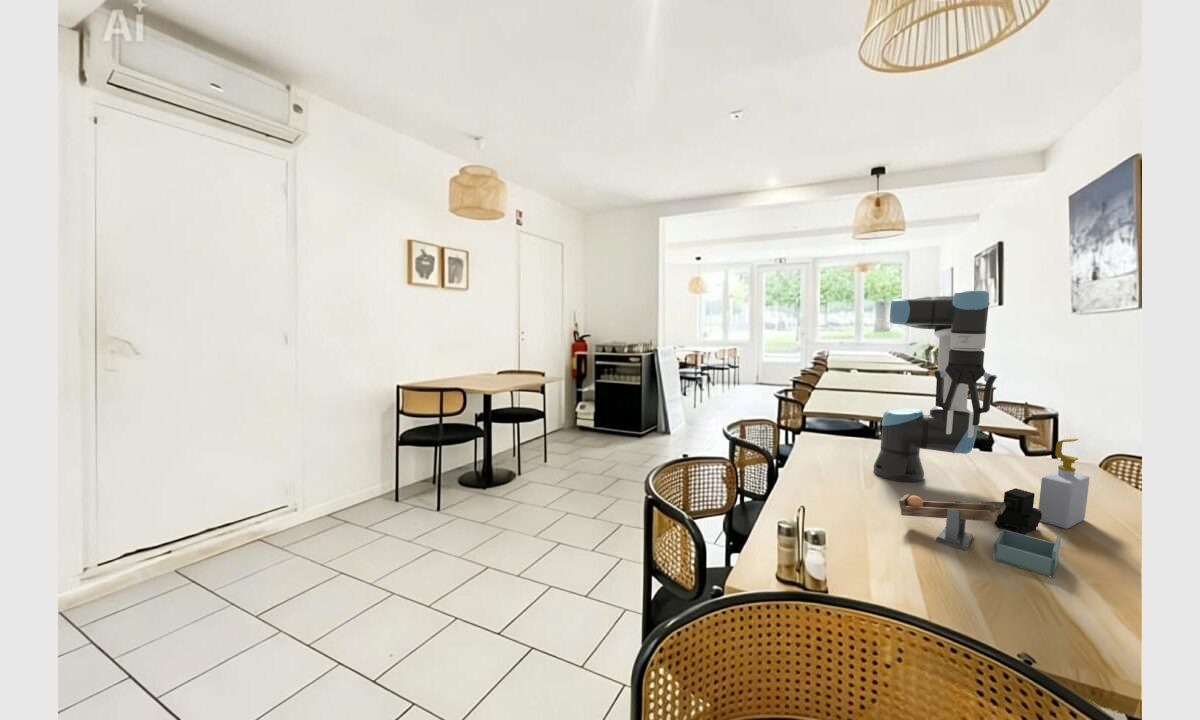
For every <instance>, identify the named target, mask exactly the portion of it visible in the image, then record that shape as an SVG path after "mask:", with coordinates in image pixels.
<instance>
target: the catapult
mask: <svg viewBox="0 0 1200 720" xmlns="http://www.w3.org/2000/svg"><path fill="white" fill-rule="evenodd" d="M910 496H911V495H910V494H907V493H906V494H905V495H903V496H902V497H901V498H900V499H899V500H898V502H899V508H900V510H901V511H900V515H901V516H906V517H920V518H922V517H923V518H933V519H934V518H935V519H947V510H948V508H950V509H954V510H958V511H960V519H962V520H966V521H980V522H993V523H995V521H996V520H997V517H998V515H999V514H1002V513H1003V511H1004V510H1005V508H1006V506H1005V503H1003V502H1004V501H987V500H986V501H983V500H982V501H980V503H977V502H975V503H973V502H967V503H955V501H953V502H952V501H951V502H949V501H929V500H928V501H927V500H922V501H923V506H922V507H916V506H909V505H908V503H907V500H908V498H909V497H910Z"/></svg>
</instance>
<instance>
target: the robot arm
mask: <svg viewBox="0 0 1200 720" xmlns="http://www.w3.org/2000/svg"><path fill="white" fill-rule="evenodd" d="M989 306H990V294H989V292H988V291H987V290H959V291H956V292H954V294H953V296H952V295H950V296H949V295H948V296H947V295H946V296H945V295H944V296H937V295H936V296H920V297H913V298H895V299H892V300H891V301H890V309H889V322H890V323H891V324H893V325H902V326H906V327H911V328H915V329H921V330H934V336H935V337H937V338H938V339H939V342H938V359H937V360H938V362H937V370H936V371H934V377H935V379H936V386H935V389H936V390H935V405H934V406H933V407H932V408H930V410H929V414H924V412H923V410H922V409H918V408H909V407H908V408H907V407H906V408H905V407H904V408H902V407H901V408H892V409H889V410H886V411H885V412H884V413H883V416H882V422H881V426H882V427H881V439H880V450H879V453H878V454H877V455H878V456H877V458H876V460H875V462H874V464H873V473H874V474H876V475H878V476H879V477H881V478H885V479H887V480H888V479H889V480H890V481H891V480H893V481H896V482H904V483H915V482H917V483H919V482H922V481H924V477H925V470H924V467H923V464H922V461H921V457H920V452H921V451H920V449H921V450H930V451H938V452H944V453H945V452H947V453H952V454H962V455H963V454H965V455H966V454H969V453H970V452H972V450H973V448H974V446H975V441H976V438H977V433H978V428H979V425H980V419H981V414H984V413H988V412H990V410H991V401H992V395H993V394H992V393H993V388H994V387H993V385H994V383H995V381H996V380H997V378H998V377H997V375H996V374H990V373H989V372H986V370H985V368H984V361H985V351H984V349H985V348H986V340H987V339H986V338H987V326H988V325H987V322H988V313H989ZM981 378H984V379H983V380H984V382H985V385H984V393H983V398H982V399H983V400H982V407H981V403H980V398H979V393H978V392H979V391H978V384H977V383H978V381H979V380H980V379H981ZM968 393H969V394H968ZM968 395H970V400H971V406H972V412H971V410H970V409H969V408H968Z"/></svg>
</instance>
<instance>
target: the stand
mask: <svg viewBox="0 0 1200 720" xmlns="http://www.w3.org/2000/svg"><path fill="white" fill-rule="evenodd" d="M954 502H955V503H968V502H967V501H964V500H959V499H955V500H954ZM966 522H967V520H962V519H960V511H958V510H954V509H950V508H948V510H947V518H946V524H945V527H944V528H943V530H942V531H941V532H940V534H939V535H938V536H937V537H935V542H936V543H938V544H942V545H946V546H948V547H952V548H956V549H958V550H962V551H963V552H964V551H966V549H967V547H968V546H969V544H970V543H971V541H972V540H973V539H974V537H975V536H974V533H970V532H968V531H966Z"/></svg>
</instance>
